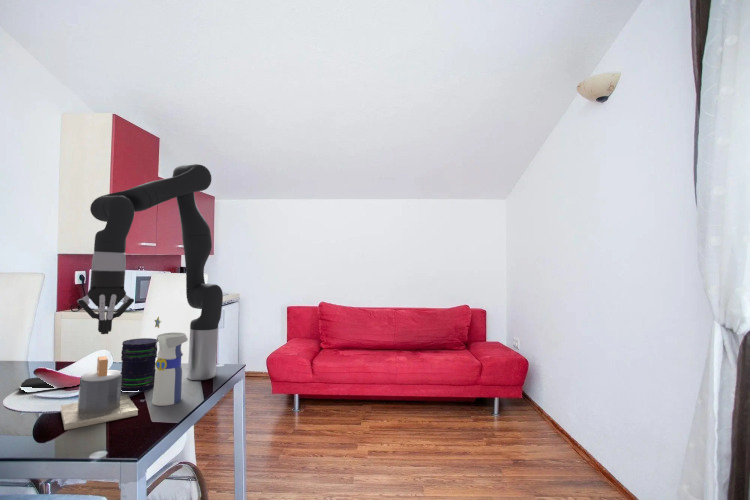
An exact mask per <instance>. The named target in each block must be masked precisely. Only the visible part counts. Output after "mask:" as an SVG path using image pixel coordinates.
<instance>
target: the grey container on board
mask: <svg viewBox="0 0 750 500" xmlns="http://www.w3.org/2000/svg"><path fill="white" fill-rule="evenodd" d="M121 382H122V375H121V374H120V376H119V377H118V378H115V379H112V380H107V381H100V382H86V381H82V378H80V384H79V386H78V387H79V388H78V401H77V402H73V403H66V404H61V405H60V414H61V420H62V424H63V429H64V431H68V430H73V429H77V428H78V429H79V428H84V427H87V426H88V427H89V426H92V425H96V424H102V423H106V422H112V421H118V420H121V419H126V418H131V417H136V416H138V415H139V413H138V411H139V409H138V408H137V406H136V405H135V403H134V402H133V400H131V398H130V396H129V395H128V393H124V394H122V392H121Z"/></svg>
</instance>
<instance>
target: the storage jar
mask: <svg viewBox="0 0 750 500" xmlns="http://www.w3.org/2000/svg"><path fill="white" fill-rule="evenodd" d="M156 342H157V338H148V337H147V338H145V337H143V338H142V337H141V338H133V339H127V340H123V341H122V344H121V345H122V348H121V357H120V358H121V359H120V360H121V371H120V372H121V375H122V382H121V390H122V391H138V390H139V391H141V392H140V393H144V392H148V391H150V390H154V380H155V371H156V365H155V364H156V361H157V357H156V355H157V354H158V345H157V346H156ZM157 343H158V342H157Z"/></svg>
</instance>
